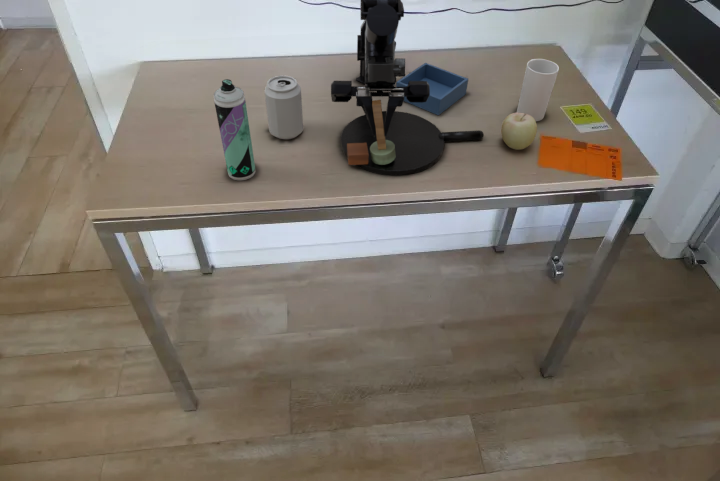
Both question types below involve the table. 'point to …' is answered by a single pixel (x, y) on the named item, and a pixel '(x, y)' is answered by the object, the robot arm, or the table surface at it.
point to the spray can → (234, 130)
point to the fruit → (518, 130)
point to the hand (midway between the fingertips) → (379, 136)
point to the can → (284, 107)
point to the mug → (537, 87)
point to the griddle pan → (404, 142)
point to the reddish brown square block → (357, 153)
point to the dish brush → (381, 139)
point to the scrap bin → (437, 87)
